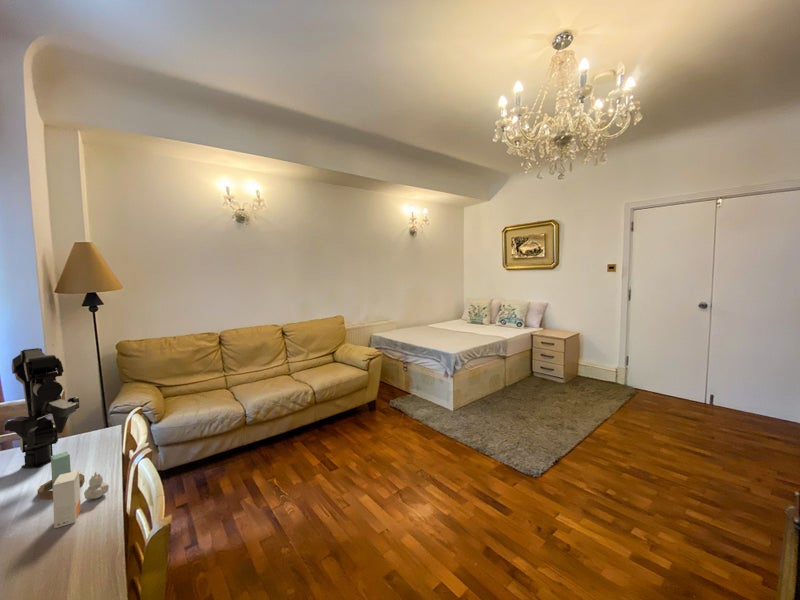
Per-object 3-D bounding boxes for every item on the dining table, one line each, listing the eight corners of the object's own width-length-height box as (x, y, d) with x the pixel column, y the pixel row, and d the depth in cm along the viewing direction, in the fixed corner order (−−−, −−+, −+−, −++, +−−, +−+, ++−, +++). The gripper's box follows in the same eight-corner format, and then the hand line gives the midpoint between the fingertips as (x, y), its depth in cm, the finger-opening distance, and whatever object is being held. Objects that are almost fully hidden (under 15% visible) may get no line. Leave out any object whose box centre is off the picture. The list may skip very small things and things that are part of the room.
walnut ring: (61, 479, 109) (60, 474, 109) (92, 479, 109) (92, 473, 109) (28, 499, 99) (28, 493, 99) (62, 498, 99) (62, 492, 99)
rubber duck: (107, 489, 104) (106, 464, 103) (110, 498, 99) (109, 472, 99) (83, 497, 100) (82, 472, 99) (86, 507, 95) (84, 480, 95)
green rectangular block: (52, 490, 103) (50, 456, 103) (68, 484, 106) (66, 451, 106) (55, 494, 101) (53, 459, 101) (71, 487, 104) (69, 454, 104)
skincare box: (76, 522, 89) (73, 480, 89) (54, 529, 87) (51, 485, 86) (81, 509, 94) (79, 469, 94) (60, 515, 92) (58, 474, 91)
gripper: (39, 403, 100) (42, 453, 101) (93, 384, 119) (95, 426, 119) (1, 404, 99) (4, 454, 100) (62, 385, 118) (64, 427, 119)
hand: (46, 439), depth 110 cm, fingers open, 9 cm apart
